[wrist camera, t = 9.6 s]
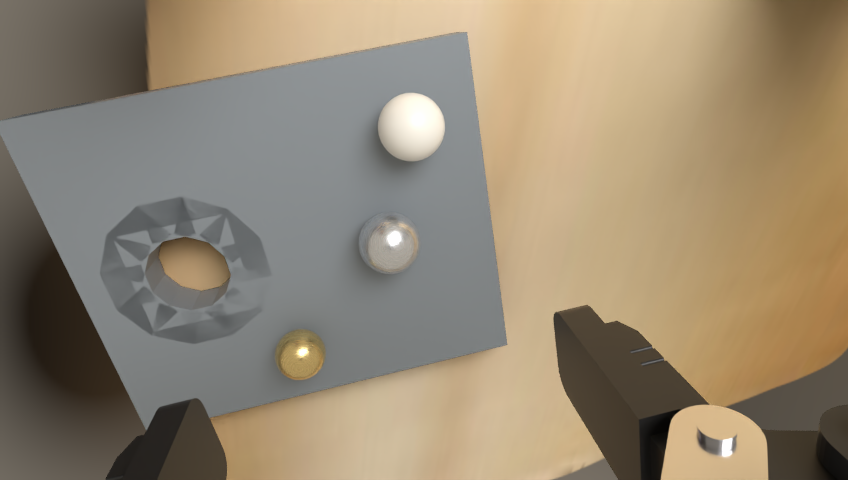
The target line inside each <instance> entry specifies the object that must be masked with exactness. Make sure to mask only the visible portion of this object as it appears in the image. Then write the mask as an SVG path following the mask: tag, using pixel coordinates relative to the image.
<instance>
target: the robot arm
mask: <svg viewBox="0 0 848 480" xmlns="http://www.w3.org/2000/svg"><path fill="white" fill-rule="evenodd" d="M554 330H555V339H556V349H557V358H558V368H559V373H560V377H561V381H562V384H563V387H564V389H565V392H566V394H567V396H568V397H569V399H570V401H571V402H572V404H573V406H574V407H575V409H576V411H577V412H578V414H579V416H580V417H581V419H582V421H583V422H584V424H585V425H586V427H587V429H588V430H589V432H590V434H591V435H592V437H593V439H594V440H595V442H596V444H597V445H598V447H599V448H600V450H601V452H602V453H603V455H604V457H605V458H606V460H607V462H608V463H609V465H610V467H611V468H612V470H613V471H614V473H615V475H616V476H617V478H618V480H848V405H842V406H837V407H834V408H831V409H829V410H827V411H826V412H825V413H824V414H823V415H822V417H821V419H820V423H819V430H818V431H774V430H763V429H760V428H759V427H758V426H757V425H756V424H755V423H754V422H753V421H752V420H750V419H749V418H748V417H746V416H744V415H743V414H741V413H738V412H736V411H734V410H731V409H728V408H725V407H721V406H715V405H709V404H708V403H707V402H706V401H705V400H704V399H703V397H702V396H701V395H700V394H699V393H698V392H697V391H696V390H695V389H694V388H693V387H692V386H691V385H690V384H689V383H688V382H687V381H686V380H685V379H684V378H683V377H682V376H681V375H680V374H679V373H678V372H677V371H676V370H675V369H674V368H673V367H672V366H671V365H670V364H669V363H668V362H667V361H664V358H663V356H662V355H661V354H660V353H659V352H658V351H657V350H656V349H655V348H654V349H653V348H652V345H651V344H650V343H649V342H648V341H647V340H646V339H645V338H644V337H643V336H642V335H641V334H640V333H639V332H638V331H637V330H634V329H632V328H630V327H628V326H626V325H624V324H622V323H620V322H618V321H614V322H610V323H606V324H605V323H604V322H603V321H602V320H601V318H600V317H599V316H598V315H597V314H596V313H595V312H594V311H593V309H592V308H591V307H590V306H588V305H585V306H580V307H576V308H572V309H568V310H564V311H560V312H556V313H555V314H554ZM226 477H227V463H226V457H225V453H224V450H223V447H222V445H221V443H220V441H219V438H218V436H217V434H216V432H215V430H214V427H213V425H212V423H211V421H210V418H209V416H208V414H207V412H206V409H205V407H204V405H203V403H202V402H201V401H200V400H199V399H197V398H194V399H190V400H185V401H181V402H177V403H173V404H169V405H165V406H161V407H159V408H158V409H157V411H156V413H155V415H154V417H153V419H152V421H151V423H150V425H149V427H148V429H147V431H146V432H145V434H144V435H141V436H137V437H136V438H135V439H134V440H133V441H132V442H131V443H130V444H129V445H128V447H127V448H126V449H125V450H124V451H123V452H122V453H121V454H120V455H119V456H118V457H117V459H116V461H115V462H114V464H113V466H112V468H111V470H110V472H109V473H108V475H107V477H106V480H226Z"/></svg>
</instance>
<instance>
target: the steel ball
mask: <svg viewBox="0 0 848 480" xmlns="http://www.w3.org/2000/svg"><path fill="white" fill-rule="evenodd" d="M420 247H421V239H420V234H419V231H418V229H417V227H416V226H415V224H414V223H413V222H412V221H411V220H410V219H409V218H407V217H406V216H404V215H402V214H399V213H395V212H384V213H380V214H378V215H375V216H374V217H372V218H371V219H369V220H368V221H367V222H366V224H365V225H364V226H363V228H362V230H361V232H360V236H359V251H360V254H361V256H362V258H363V260H364V261H365V263H366V264H367V265H368V266H369V267H371V268H372V269H373V270H375V271H377V272H380V273H384V274H396V273H400V272H402V271H404V270H406V269H408V268H409V267H410V266H411V265H412V264H413V263H414V262H415V260H416V259H417V257H418V255H419V252H420Z"/></svg>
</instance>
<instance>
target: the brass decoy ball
mask: <svg viewBox="0 0 848 480" xmlns="http://www.w3.org/2000/svg"><path fill="white" fill-rule="evenodd" d="M325 358H326V349H325V345H324V342H323V341H322V339H321V338H320V337H319V336H318V335H317V334H316V333H314V332H313V331H310V330H307V329H297V330H293V331H290V332H289V333H287V334H285V335H284V336H283V337H282V338H281V339H280V341H279V342H278V344H277V346H276V349H275V362H276V365H277V367H278V369H279V370H280V372H281V373H282V374H283V375H285V376H286V377H288V378H290V379H294V380H304V379H308V378H310V377H312V376H314V375H315V374H317V373H318V372H319V371H320V369H321V368H322V366H323V364H324V362H325Z"/></svg>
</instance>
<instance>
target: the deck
mask: <svg viewBox="0 0 848 480" xmlns="http://www.w3.org/2000/svg"><path fill="white" fill-rule="evenodd" d="M404 93H418V94H422V95H424V96H427V97H428V98H430V99H431V100H433V101H434V102H435V103H436V104H437V106H438V107H439V108H440V110H441V112H442V114H443V117H444V121H445V133H444V137H443V140H442V142H441V144H440V146H439V148H438V149H437V150H436V151H435V152H434V153H433V154H432V155H430V156H429V157H427V158H425V159H423V160H419V161H404V160H401V159H398V158H396V157H394V156H393V155H391V154H390V153H389V152H388V151H387V150H386V149H385V147H384V146H383V144H382V143H381V140H380V137H379V133H378V120H379V116H380V114H381V111H382V110H383V108H384V106H385V105H386V104H387V103H388V102H389V101H390V100H391V99H393V98H394V97H396V96H398V95H400V94H404ZM0 135H1V137H2V139H3V141H4V143H5V145H6V147H7V149H8V151H9V153H10V155H11V157H12V159H13V161H14V163H15V165H16V167H17V169H18V171H19V173H20V175H21V178H22V179H23V182H24V184H25V186H26V187H27V190H28V192H29V194H30V196H31V198H32V200H33V202H34V204H35V206H36V208H37V210H38V212H39V214H40V216H41V218H42V220H43V222H44V224H45V226H46V228H47V230H48V232H49V234H50V236H51V238H52V240H53V242H54V244H55V246H56V248H57V250H58V253H59V254H60V257H61V259H62V261H63V263H64V265H65V267H66V269H67V271H68V273H69V275H70V277H71V279H72V281H73V283H74V285H75V287H76V289H77V291H78V293H79V295H80V297H81V299H82V301H83V303H84V305H85V307H86V309H87V311H88V313H89V315H90V317H91V319H92V321H93V323H94V325H95V328H96V329H97V332H98V334H99V336H100V337H101V339H102V342H103V344H104V346H105V348H106V350H107V352H108V354H109V356H110V358H111V360H112V362H113V364H114V366H115V368H116V370H117V372H118V374H119V376H120V378H121V380H122V382H123V384H124V386H125V388H126V390H127V392H128V394H129V396H130V398H131V400H132V402H133V404H134V407H135V409H136V411H137V413H138V415H139V417H140V419H141V421H142V422H143V425H144V427H145V429H146V431H147V429H148V427H149V425H150V423H151V421H152V419H153V417H154V415H155V413H156V411H157V409H158V408H159V407H161V406H165V405H169V404H173V403H177V402H181V401H185V400H190V399H194V398H197V399H199V400H200V401H201V402H202V403H203V405H204V407H205V409H206V412H207V414H208V416H209V418H211V417H215V416H219V415H223V414H227V413H231V412H235V411H239V410H243V409H247V408H252V407H256V406H260V405H264V404H268V403H272V402H276V401H280V400H284V399H288V398H292V397H296V396H301V395H305V394H309V393H313V392H317V391H321V390H325V389H329V388H333V387H337V386H341V385H345V384H349V383H354V382H358V381H362V380H366V379H370V378H374V377H378V376H382V375H386V374H390V373H394V372H398V371H403V370H407V369H411V368H415V367H419V366H423V365H427V364H431V363H435V362H439V361H443V360H447V359H451V358H456V357H460V356H464V355H468V354H472V353H476V352H480V351H484V350H488V349H492V348H496V347H500V346H505V345H507V339H506V331H505V323H504V316H503V308H502V300H501V292H500V285H499V277H498V269H497V261H496V253H495V246H494V238H493V230H492V222H491V215H490V207H489V199H488V191H487V184H486V176H485V168H484V160H483V152H482V145H481V137H480V129H479V121H478V114H477V106H476V98H475V90H474V82H473V75H472V67H471V59H470V51H469V44H468V36H467V32H456V33H451V34H445V35H440V36H435V37H430V38H424V39H419V40H414V41H409V42H403V43H398V44H393V45H388V46H382V47H377V48H372V49H366V50H361V51H356V52H351V53H345V54H340V55H335V56H330V57H324V58H319V59H314V60H309V61H303V62H298V63H293V64H288V65H282V66H277V67H272V68H266V69H261V70H256V71H251V72H245V73H240V74H235V75H230V76H224V77H219V78H214V79H209V80H203V81H198V82H193V83H188V84H182V85H177V86H172V87H166V88H161V89H156V90H151V91H146V92H140V93H135V94H130V95H124V96H119V97H114V98H109V99H104V100H98V101H93V102H88V103H82V104H77V105H72V106H67V107H62V108H56V109H51V110H46V111H40V112H35V113H30V114H24V115H20V116H16V117H12V118H8V119H5V120H1V121H0ZM384 212H395V213H399V214H402V215H404V216H406V217H407V218H409V219H410V220H411V221H412V222H413V223H414V224H415V226H416V227H417V229H418V231H419V234H420V239H421V247H420V252H419V255H418V257H417V259H416V260H415V262H414V263H413V264H412V265H411V266H410V267H409V268H408V269H406V270H404V271H402V272H400V273H396V274H384V273H380V272H377V271H375V270H373V269H372V268H371V267H369V266H368V265H367V264H366V263H365V261H364V260H363V258H362V256H361V254H360V251H359V236H360V232H361V230H362V228H363V226H364V225H365V224H366V222H367V221H368V220H369V219H371V218H372V217H374V216H375V215H378V214H380V213H384ZM181 237H189V238H193V239H197V240H201V241H205V242H208V243H209V244H210V245H212V246H213V247H214V248H215V249H216V250H217V251H219V252H220V253H221V254H222V255H223V256H224V257H225V259H226V262H227V265H228V268H229V271H230V273H231V277H230V279H228V280H227V281H226V282H225V283H224V284H223V285H222V286H221V287H217V288H213V289H208V290H204V291H199V290H194V289H190V288H185V287H181V286H180V285H179V284H177V283H176V282H175V281H174V280H172V279H171V278H170V277H168V276H167V275H166V274H165V272H164V270H163V267H162V265H161V262H160V260H159V257H158V255H159V250H160V246H161V243H162V242H163V241H167V240H172V239H177V238H181ZM297 329H307V330H310V331H313V332H314V333H316V334H317V335H318V336H319V337H320V338H321V339H322V341H323V342H324V345H325V349H326V358H325V362H324V364H323V366H322V368H321V369H320V371H319V372H318V373H317V374H315V375H314V376H312V377H310V378H308V379H304V380H294V379H290V378H288V377H286V376H285V375H283V374H282V373H281V372H280V370H279V369H278V367H277V365H276V362H275V349H276V346H277V344H278V342H279V341H280V339H281V338H282V337H283V336H284V335H285V334H287V333H289V332H290V331H293V330H297Z"/></svg>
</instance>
